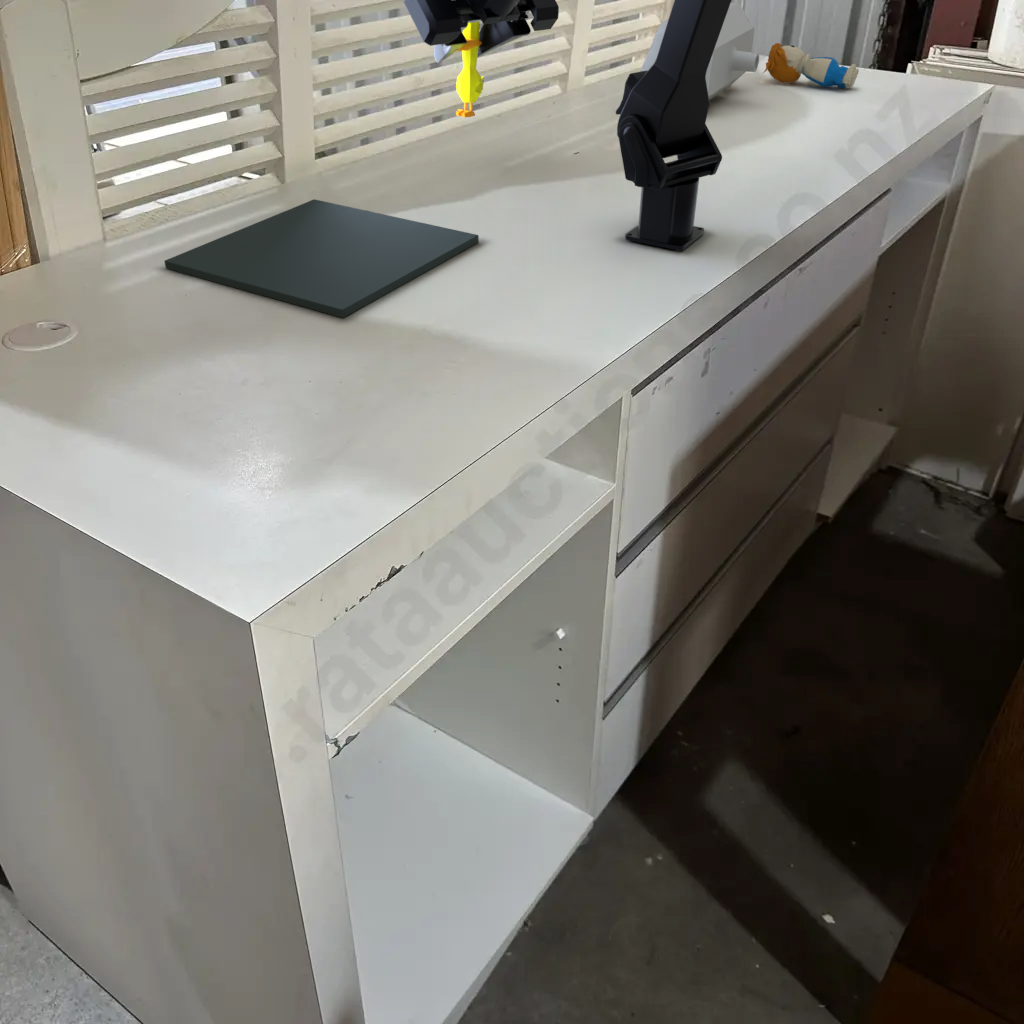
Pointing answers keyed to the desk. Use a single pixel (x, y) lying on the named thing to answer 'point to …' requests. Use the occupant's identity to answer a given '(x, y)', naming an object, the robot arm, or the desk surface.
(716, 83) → the tank
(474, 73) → the toy figure
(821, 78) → the toy
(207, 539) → the desk surface
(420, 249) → the mat
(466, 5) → the robot arm
